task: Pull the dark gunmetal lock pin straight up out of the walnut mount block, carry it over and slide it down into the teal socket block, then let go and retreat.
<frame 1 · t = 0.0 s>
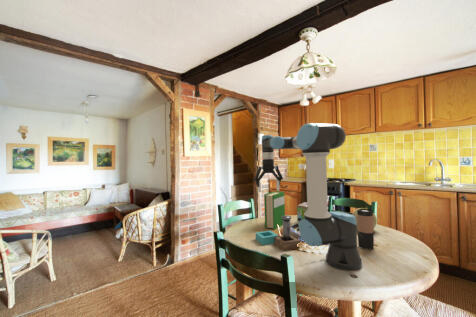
hand: (268, 191, 146), 28 cm above the table, fingers open, 13 cm apart
tea box: (307, 224, 166), on the table
teal socket: (266, 242, 131), on the table
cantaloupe: (364, 230, 148), on the table
hardback book: (275, 226, 163), on the table
walnut mount: (287, 247, 123), on the table
travel mug: (366, 247, 121), on the table
lock pin: (287, 245, 123), point 1 cm above the table, touching walnut mount
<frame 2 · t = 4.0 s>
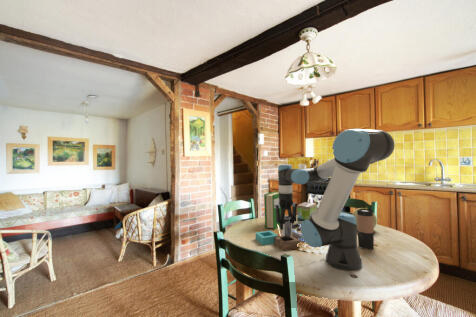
hand: (286, 234, 123), 7 cm above the table, fingers closed on lock pin, 4 cm apart
lock pin: (287, 245, 123), point 1 cm above the table, touching gripper, walnut mount
everything else where it was.
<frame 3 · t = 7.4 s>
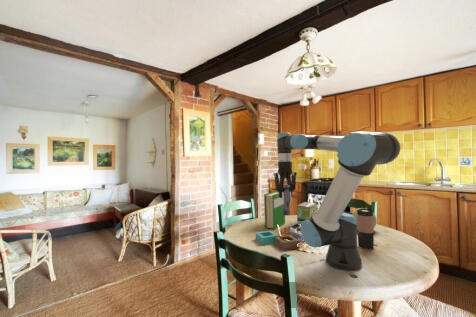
hand: (285, 203, 123), 25 cm above the table, fingers closed on lock pin, 4 cm apart
lock pin: (286, 214, 123), point 18 cm above the table, touching gripper
everything else where it was.
when the fingers open (9 cm above the table, at t = 11.0 s): lock pin drops 1 cm, resting on teal socket.
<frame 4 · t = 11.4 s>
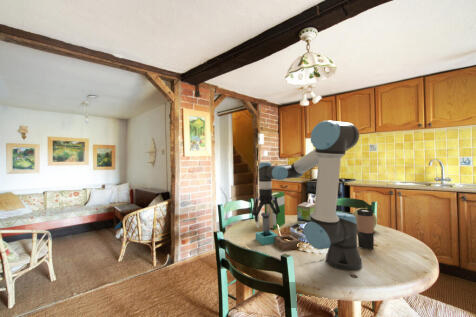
hand: (266, 226, 131), 10 cm above the table, fingers open, 10 cm apart
lock pin: (266, 240, 131), point 1 cm above the table, touching teal socket
everything else where it was.
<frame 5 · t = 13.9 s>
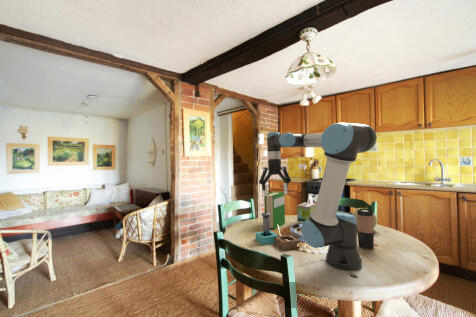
hand: (275, 195, 130), 28 cm above the table, fingers open, 13 cm apart
nothing on the table moved.
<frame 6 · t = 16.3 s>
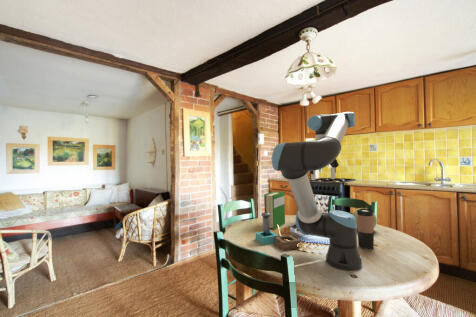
hand: (323, 179, 127), 37 cm above the table, fingers open, 13 cm apart
nothing on the table moved.
at the end: lock pin 0.0 cm off-centre on the teal socket, point 1.0 cm above the teal socket's base; lock pin tilted 0°; the gripper is holding nothing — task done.
